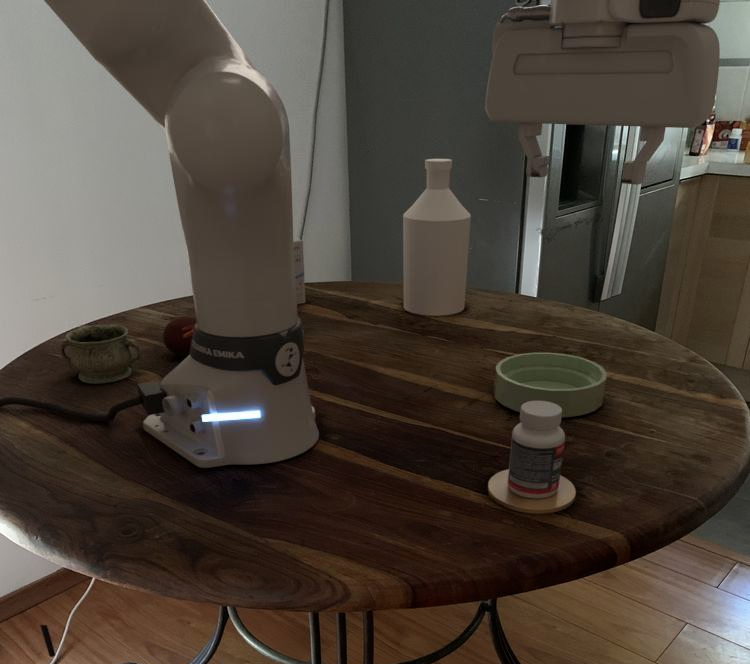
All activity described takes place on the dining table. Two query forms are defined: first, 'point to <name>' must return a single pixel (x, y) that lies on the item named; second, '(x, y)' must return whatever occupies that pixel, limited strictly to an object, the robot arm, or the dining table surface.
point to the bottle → (435, 247)
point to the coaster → (530, 505)
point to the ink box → (299, 270)
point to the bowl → (550, 382)
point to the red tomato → (179, 335)
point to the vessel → (101, 353)
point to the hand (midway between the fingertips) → (582, 180)
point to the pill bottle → (536, 451)
